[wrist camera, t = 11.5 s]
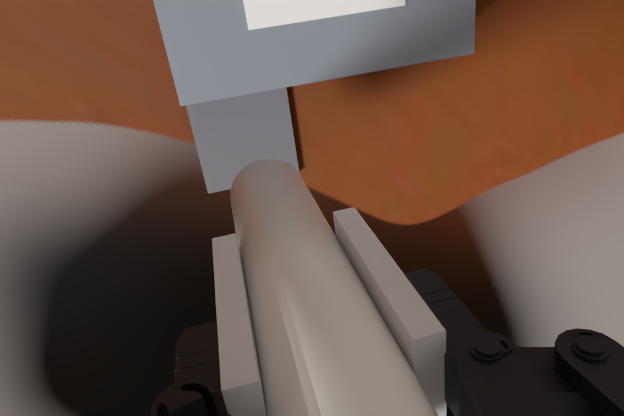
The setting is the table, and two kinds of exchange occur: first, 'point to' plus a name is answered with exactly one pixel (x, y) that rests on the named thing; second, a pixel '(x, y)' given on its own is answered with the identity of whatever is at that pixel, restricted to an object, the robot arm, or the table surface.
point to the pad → (241, 134)
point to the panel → (303, 41)
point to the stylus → (313, 308)
